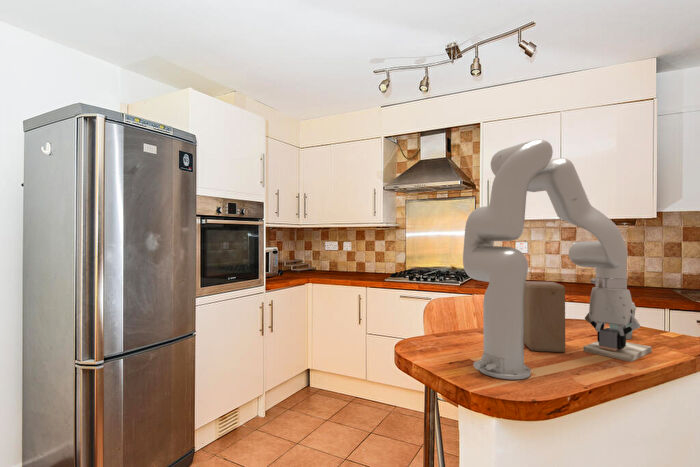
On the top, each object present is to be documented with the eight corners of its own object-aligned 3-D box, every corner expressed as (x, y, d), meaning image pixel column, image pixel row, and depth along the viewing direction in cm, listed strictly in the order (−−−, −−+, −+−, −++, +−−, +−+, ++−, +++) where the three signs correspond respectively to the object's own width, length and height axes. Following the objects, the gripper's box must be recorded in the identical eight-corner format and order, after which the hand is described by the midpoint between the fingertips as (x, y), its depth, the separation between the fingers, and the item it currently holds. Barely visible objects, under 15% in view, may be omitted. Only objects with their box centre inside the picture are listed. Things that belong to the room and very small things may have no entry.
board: (630, 361, 104) (630, 356, 104) (583, 351, 114) (583, 346, 114) (651, 351, 114) (651, 346, 114) (606, 342, 123) (606, 338, 124)
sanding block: (615, 350, 108) (615, 333, 108) (599, 347, 111) (599, 330, 111) (623, 347, 112) (623, 330, 112) (608, 344, 115) (607, 327, 115)
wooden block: (566, 353, 112) (566, 285, 112) (530, 351, 114) (529, 284, 114) (555, 344, 122) (555, 281, 122) (521, 342, 124) (521, 280, 124)
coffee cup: (635, 336, 132) (635, 301, 132) (637, 341, 125) (637, 305, 125) (605, 332, 136) (605, 299, 137) (606, 338, 129) (606, 302, 129)
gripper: (574, 282, 116) (574, 342, 116) (640, 288, 103) (641, 356, 103) (585, 280, 121) (586, 338, 120) (650, 286, 107) (651, 351, 107)
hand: (611, 346), depth 112 cm, fingers closed on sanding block, 4 cm apart
